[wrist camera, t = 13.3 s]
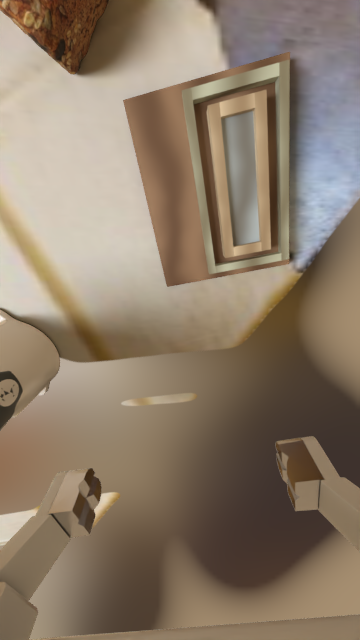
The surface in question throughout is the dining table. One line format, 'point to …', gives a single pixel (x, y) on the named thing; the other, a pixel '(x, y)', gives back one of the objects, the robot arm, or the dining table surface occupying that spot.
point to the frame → (241, 172)
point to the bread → (57, 26)
